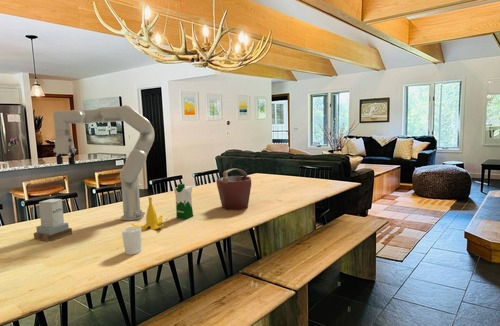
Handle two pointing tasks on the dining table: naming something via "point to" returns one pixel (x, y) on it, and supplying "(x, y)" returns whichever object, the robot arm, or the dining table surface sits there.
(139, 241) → the white cup
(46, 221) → the supplement box
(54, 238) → the tower base
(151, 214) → the banana peel
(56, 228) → the tower top
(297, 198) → the dining table surface
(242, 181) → the bucket
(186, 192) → the milk carton
